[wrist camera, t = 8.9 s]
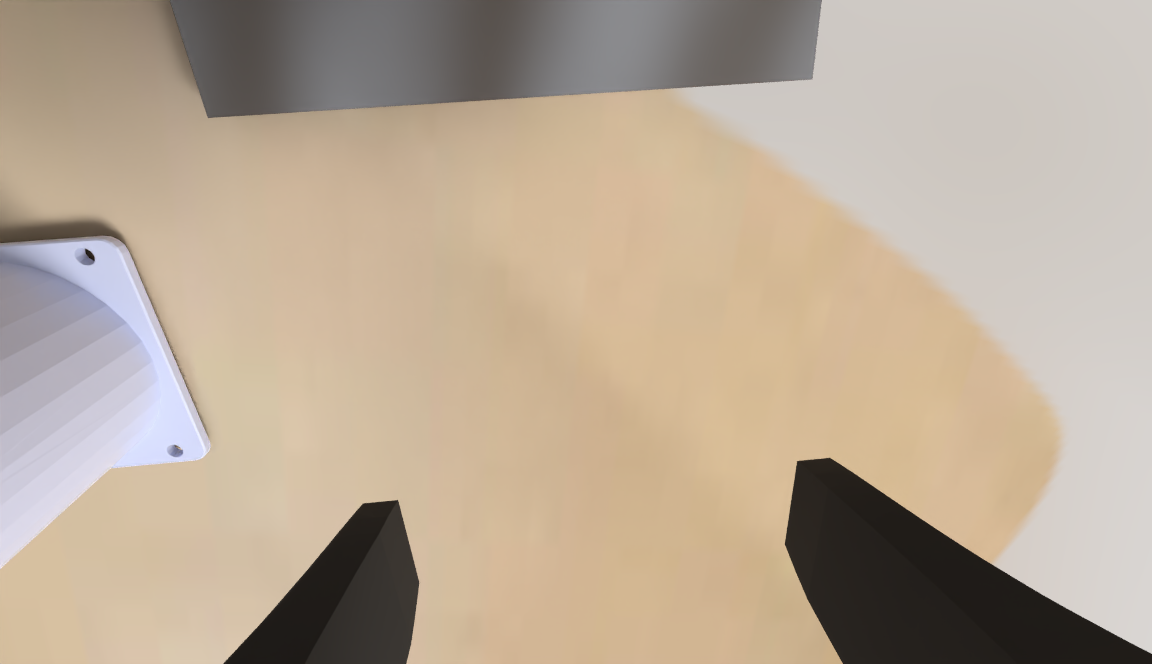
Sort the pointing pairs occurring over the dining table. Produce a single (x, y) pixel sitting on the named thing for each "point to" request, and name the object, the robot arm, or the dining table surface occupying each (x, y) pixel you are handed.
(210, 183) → the dining table surface
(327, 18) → the base
